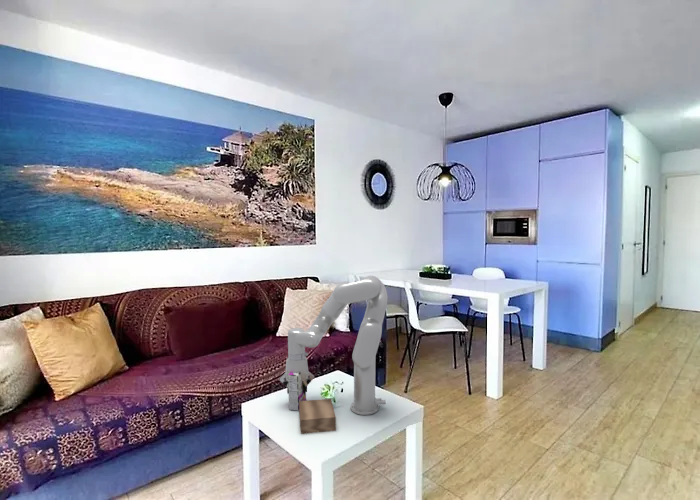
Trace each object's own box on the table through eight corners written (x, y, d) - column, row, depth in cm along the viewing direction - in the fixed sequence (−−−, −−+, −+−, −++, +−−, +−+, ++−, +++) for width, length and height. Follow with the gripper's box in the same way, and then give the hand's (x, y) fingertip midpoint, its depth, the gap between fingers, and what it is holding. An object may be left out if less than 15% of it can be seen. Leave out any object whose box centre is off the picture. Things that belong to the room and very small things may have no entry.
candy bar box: (296, 398, 177) (295, 365, 176) (306, 399, 176) (305, 365, 175) (287, 410, 166) (287, 374, 165) (298, 411, 165) (298, 375, 164)
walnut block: (331, 411, 165) (331, 398, 165) (335, 431, 149) (335, 417, 149) (299, 414, 163) (299, 401, 162) (300, 434, 147) (300, 420, 147)
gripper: (315, 351, 174) (315, 389, 175) (277, 354, 171) (278, 392, 173) (316, 357, 167) (316, 396, 168) (276, 360, 164) (277, 399, 165)
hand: (297, 393), depth 170 cm, fingers closed on candy bar box, 6 cm apart
